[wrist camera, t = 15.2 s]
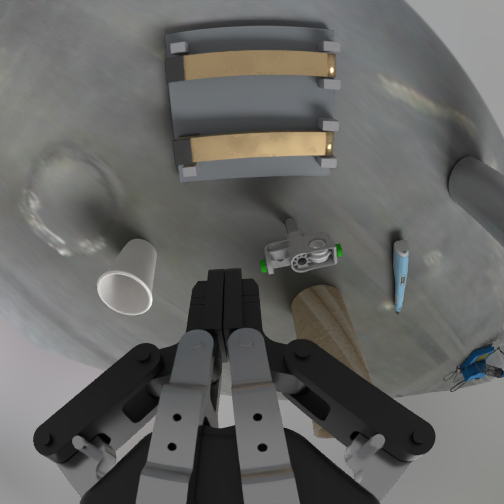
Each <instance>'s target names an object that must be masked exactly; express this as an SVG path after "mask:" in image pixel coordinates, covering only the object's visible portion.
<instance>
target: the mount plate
mask: <svg viewBox="0 0 504 504" xmlns="http://www.w3.org/2000/svg"><path fill="white" fill-rule="evenodd" d="M165 40H166V56H167V58H169V57H176V56H186V55H194V54H203V53H213V52H226V51H246V50H287V51H307V52H320V53H331V54H334V53H337V52H341V44H340V43H338V42H334V32H333V30H329V29H320V28H309V27H293V26H235V27H220V28H209V29H200V30H191V31H184V32H177V33H171V34H166V35H165ZM334 89H335V90H340V80H334V77H323V76H307V75H241V76H224V77H212V78H202V79H193V80H185V81H178V82H171V83H169V93H170V103H171V113H172V122H173V131H174V139H175V138H180V137H189V136H198V135H208V134H219V133H232V132H247V131H271V130H323V131H339V121H337V120H335V119H333V98H334ZM336 164H337V158H336V157H335V156H334V155H331V156H327V155H308V156H271V157H251V158H236V159H223V160H211V161H201V162H193V164H186V165H178V170H179V177H180V182H191V181H202V180H215V179H230V178H247V177H270V176H311V175H330V168H336Z"/></svg>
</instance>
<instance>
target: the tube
mask: <svg viewBox="0 0 504 504" xmlns="http://www.w3.org/2000/svg"><path fill="white" fill-rule="evenodd" d="M291 310H292V315H293V320H294V325H295V330H296V335H297V339H307V340H310V341H313V342H314V343H316V344H317V345H318V346H320V347H321V348H322V349H324V350H325V351H326V352H328V353H329V354H331V355H332V356H333V357H335V358H336V359H337V360H339V361H340V362H342V363H343V364H344V365H346V366H347V367H348V368H350V369H351V370H353V371H354V372H355V373H357V374H358V375H360V376H361V377H362V378H364V379H365V380H367V381H368V382H370V383H371V384H372V385H373V383H372V380H371V377H370V374H369V370H368V367H367V364H366V362H365V359H364V356H363V353H362V350H361V347H360V344H359V341H358V338H357V336H356V333H355V330H354V327H353V325H352V322H351V319H350V317H349V314H348V311H347V309H346V306H345V303H344V301H343V298H342V296H341V293H340V291H339V290H338V289H337V288H335V287H333V286H329V285H316V286H311V287H309V288H307V289H304V290H303V291H301V292H300V293H299V294H298V295H297V296H296V297H295V298H294V300H293V302H292V305H291ZM312 423H313V429H314V435H315V436H317V437H319V438H334V437H333V436H332V435H331V434H329V433H328V432H327V431H326V430H324V429H323V428H322V427H321V426H319V425H318V424H317V423H316V422H314V421H313V420H312Z"/></svg>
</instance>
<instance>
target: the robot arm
mask: <svg viewBox="0 0 504 504" xmlns="http://www.w3.org/2000/svg"><path fill="white" fill-rule="evenodd" d="M449 194H450V196H451V198H452V199H453V201H455V202H456V203H457V204H458V205H459V206H460V207H462V208H463V209H464V210H465V211H466V212H467V213H468V214H469V215H471V216H472V217H473V218H474V219H475V220H476V221H477V222H478V223H479V224H480V225H481V226H482V227H484V228H485V229H486V230H487V231H488V232H489V233H490V234H491V235H492V236H493V237H494V238H495V239H496V240H497V241H498V242H499V243H500V244H501V245H502V246H503V247H504V175H502V174H501V173H499V172H498V171H496V170H494V169H493V168H491V167H490V166H488V165H487V164H485V163H483V162H482V161H480V160H478V159H477V158H475V157H472V156H468V157H465V158H463V159H461V160H460V161H459V162H458V163H457V164H456V165H455V167H454V168H453V170H452V172H451V175H450V178H449ZM227 356H228V359H229V362H230V371H231V381H232V399H233V409H234V419H235V425H234V426H230V427H226V428H218V408H219V407H218V406H219V397H220V388H221V379H222V376H221V373H222V362H227ZM276 391H279V392H282V394H283V395H284V396H285V397H286V398H287V399H288V400H290V401H291V402H292V403H293V404H294V405H295V406H297V407H298V408H299V409H300V410H301V411H302V412H304V413H305V414H306V415H307V416H308V417H310V418H311V419H312V420H313V421H314V422H316V423H317V424H318V425H319V426H321V427H322V428H323V429H324V430H326V431H327V432H328V433H329V434H331V435H332V436H333V437H334V438H336V439H337V440H339V441H340V442H341V443H342V444H344V445H345V446H346V447H347V448H346V450H345V454H344V459H345V462H346V464H347V465H348V466H349V468H350V469H352V471H353V473H354V479H352V478H351V477H350V476H349V475H348V474H346V473H345V472H344V471H343V470H341V469H340V468H339V467H338V466H336V465H335V464H334V463H333V462H332V461H331V460H330V459H328V458H327V457H326V456H325V455H324V454H322V453H321V452H320V451H319V450H318V449H317V448H316V447H314V446H313V445H312V444H311V443H310V442H309V441H308V440H307V439H306V438H304V437H303V436H301V435H300V434H298V433H296V432H294V431H292V430H290V429H287V428H283V424H282V419H281V414H280V409H279V404H278V399H277V394H276ZM155 415H156V418H155V423H154V427H153V432H151V433H150V434H148V435H147V436H145V437H144V438H143V439H142V440H141V441H140V442H139V443H138V444H137V445H135V446H134V448H133V449H131V450H130V451H129V452H128V453H127V454H126V455H125V456H124V457H123V458H122V459H121V460H120V461H119V462H118V463H117V464H116V453H115V451H117V450H118V449H119V448H120V447H121V446H122V445H123V444H124V443H126V442H127V441H128V440H129V439H130V438H131V437H132V436H133V435H134V434H136V433H137V432H138V431H139V430H140V429H141V428H142V427H143V426H144V425H145V424H146V423H147V422H149V421H150V420H151V419H152V418H153V417H154V416H155ZM33 442H34V446H35V448H36V450H37V451H38V452H39V453H40V454H42V455H44V456H45V457H47V458H49V459H50V460H51V461H53V462H54V463H56V464H57V465H58V467H59V468H60V470H61V471H62V472H63V474H64V475H65V477H66V478H67V479H68V481H69V482H70V483H71V485H72V486H73V487H74V489H75V490H76V491H77V492H78V494H79V495H80V496H81V497H82V499H81V501H80V504H380V500H382V498H383V497H384V496H385V495H386V494H387V493H388V491H389V490H390V489H391V487H392V486H393V485H394V484H395V483H396V481H397V480H398V479H399V478H400V476H401V475H402V474H403V472H404V471H405V470H406V468H407V467H408V466H409V464H410V463H411V462H412V461H414V460H416V459H417V458H419V457H420V456H422V455H424V454H425V453H427V452H428V451H429V450H430V449H431V448H432V446H433V445H434V442H435V431H434V429H433V427H432V426H431V425H430V424H429V423H428V422H426V421H425V420H423V419H422V418H420V417H419V416H417V415H416V414H414V413H413V412H411V411H410V410H408V409H407V408H406V407H404V406H403V405H401V404H400V403H398V402H397V401H395V400H394V399H392V398H391V397H390V396H388V395H387V394H385V393H384V392H382V391H381V390H379V389H378V388H377V387H375V386H374V385H372V384H371V383H370V382H368V381H367V380H365V379H364V378H362V377H361V376H360V375H358V374H357V373H355V372H354V371H353V370H351V369H350V368H348V367H347V366H346V365H344V364H343V363H342V362H340V361H339V360H337V359H336V358H335V357H333V356H332V355H331V354H329V353H328V352H326V351H325V350H324V349H322V348H321V347H320V346H318V345H317V344H316V343H314V342H313V341H310V340H307V339H296V340H293V341H291V342H290V343H289V344H288V345H287V344H282V343H278V342H274V341H272V340H270V339H269V338H268V337H267V336H266V335H265V334H264V332H263V329H262V320H261V309H260V299H259V288H258V285H257V283H256V282H255V281H254V279H242V273H241V268H233V269H214V270H209V271H208V279H207V281H198V282H197V283H196V285H195V286H194V288H193V289H192V295H191V302H190V308H189V315H188V322H187V329H186V333H185V334H184V335H183V336H182V337H181V338H180V341H179V342H178V343H177V344H175V345H173V346H170V347H166V348H162V349H158V348H157V347H156V346H155V345H153V344H150V343H143V344H139V345H137V346H135V347H134V348H132V349H131V350H130V351H129V352H128V353H126V354H125V355H124V356H123V357H122V358H121V359H119V360H118V361H117V362H116V363H115V364H113V365H112V366H111V367H110V368H109V369H107V370H106V371H105V372H104V373H103V374H101V375H100V376H99V377H98V378H97V379H95V380H94V381H93V382H92V383H91V384H90V385H88V386H87V387H86V388H85V389H84V390H82V391H81V392H80V393H79V394H77V395H76V396H75V397H74V398H73V399H71V400H70V401H69V402H68V403H67V404H65V405H64V406H63V407H62V408H61V409H60V410H58V411H57V412H56V413H55V414H54V415H52V416H51V417H50V418H49V419H48V420H46V421H45V422H44V423H43V424H42V425H40V426H39V427H38V428H37V430H36V431H35V433H34V437H33ZM115 464H116V465H115Z"/></svg>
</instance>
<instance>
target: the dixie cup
mask: <svg viewBox="0 0 504 504" xmlns="http://www.w3.org/2000/svg"><path fill="white" fill-rule="evenodd" d="M156 258H157V253H156V250H155V248H154V246H153V245H152V244H151V243H149V242H148V241H146V240H143V239H133V240H130V241H129V242H128V243H127V244H126V245H125V247H124V248H123V249H122V250H121V252H120V253H119V254H118V256H117V257H116V258H115V260H114V261H113V262H112V264H111V265H110V266H109V268H108V269H107V270H106V272H105V273H104V274H102V275H101V276H100V278H99V279H98V282H97V291H98V294H99V296H100V298H101V299H102V301H103V302H104V303H105V304H106V305H107V306H108V307H110V308H111V309H113V310H115V311H117V312H119V313H122V314H126V315H138V314H142V313H144V312H146V311H147V310H148V309H149V308H150V306H151V304H152V287H153V279H154V272H155V265H156Z"/></svg>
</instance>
